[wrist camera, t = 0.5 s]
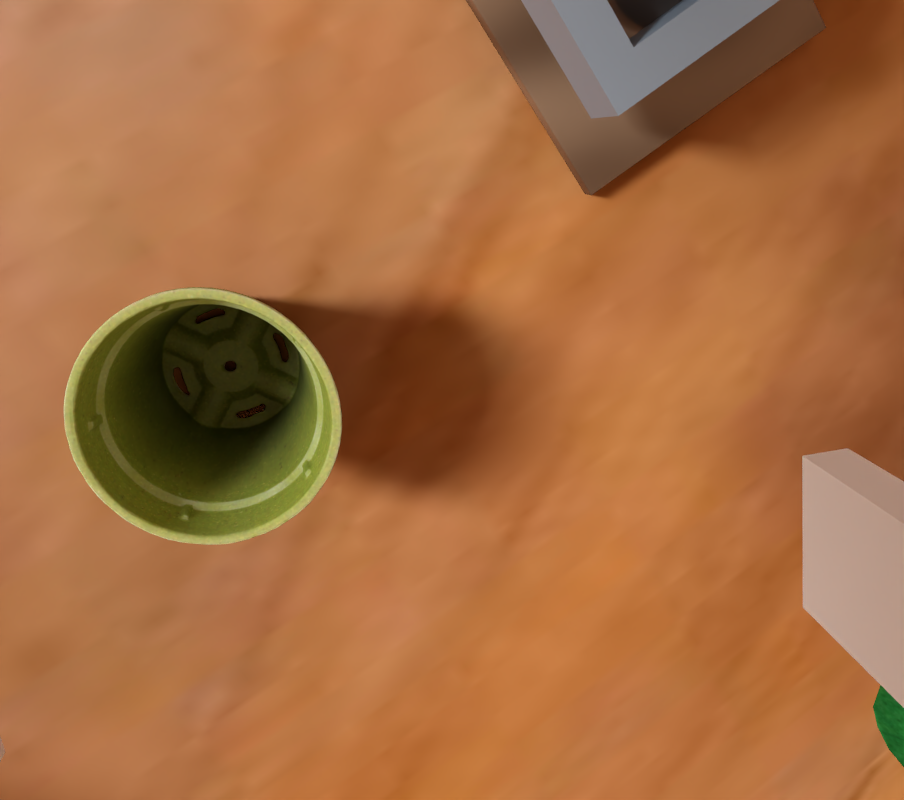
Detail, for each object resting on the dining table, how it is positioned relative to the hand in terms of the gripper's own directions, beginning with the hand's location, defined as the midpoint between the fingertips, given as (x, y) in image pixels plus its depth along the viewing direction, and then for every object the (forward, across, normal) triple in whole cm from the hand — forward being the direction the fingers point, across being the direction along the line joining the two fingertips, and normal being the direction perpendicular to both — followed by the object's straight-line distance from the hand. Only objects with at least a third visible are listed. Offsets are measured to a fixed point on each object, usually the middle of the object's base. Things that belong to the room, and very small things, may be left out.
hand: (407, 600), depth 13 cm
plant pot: (+26, -6, -2) cm, 27 cm away
